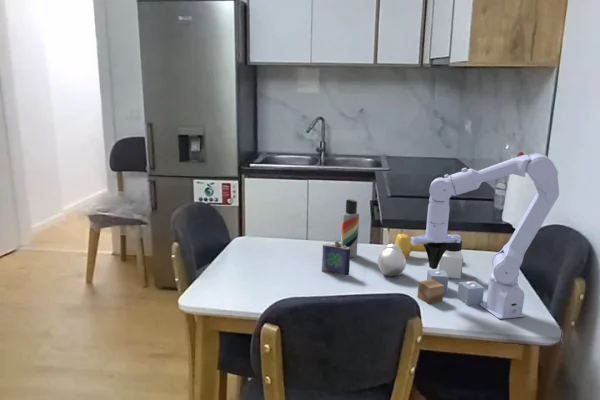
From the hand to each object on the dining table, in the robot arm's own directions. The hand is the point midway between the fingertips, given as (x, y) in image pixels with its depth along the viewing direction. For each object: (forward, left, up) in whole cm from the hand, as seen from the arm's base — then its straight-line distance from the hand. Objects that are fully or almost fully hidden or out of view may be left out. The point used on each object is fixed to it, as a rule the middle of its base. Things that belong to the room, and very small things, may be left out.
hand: (433, 267), depth 152 cm
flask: (+25, +20, -10) cm, 34 cm away
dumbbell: (+34, -15, -10) cm, 38 cm away
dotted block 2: (-3, -11, -10) cm, 15 cm away
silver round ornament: (+20, +3, -10) cm, 22 cm away
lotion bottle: (+40, +10, -10) cm, 42 cm away
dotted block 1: (+7, -6, -10) cm, 13 cm away
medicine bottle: (+17, -16, -10) cm, 25 cm away
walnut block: (0, 0, -10) cm, 10 cm away
